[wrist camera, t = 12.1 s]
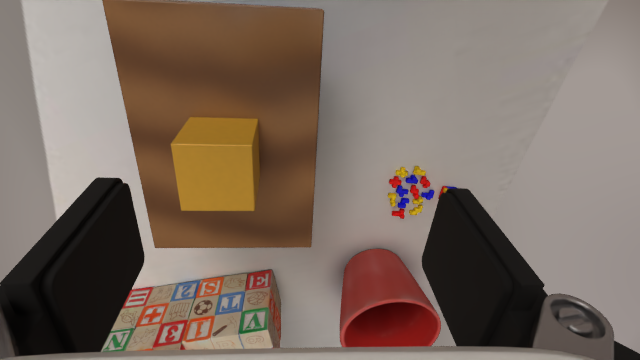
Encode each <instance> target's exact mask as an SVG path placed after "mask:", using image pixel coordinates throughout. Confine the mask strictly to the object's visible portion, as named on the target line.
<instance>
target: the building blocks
mask: <svg viewBox="0 0 640 360" xmlns="http://www.w3.org/2000/svg"><path fill="white" fill-rule="evenodd" d="M413 173H414V174H415V175H425V173H426V172H425V170H421V169H420V168H419V166H415V168H414V171H413ZM396 175H400V176H401V177H404V178H405V176H407V175H408V172H407V171H405V168H404V167H401V168H400V170H396ZM415 175H411V176H410V178H406V183H414V184H417V183H418V180H417V179H416V177H415ZM426 179H427V178H426V176H422V178H421V181H420V183H421V184H423V188H427V187H429V186H430V182H429V181H428V180H426ZM389 183H390V184H392V187H393V188H396V187H397V185H398V187H397V190H396V192H397V193H399V196H400V197H403V196H404V194H408V189H402V186H400V185H401V180H399V178H398V177H397V176H394V179H390V181H389ZM449 188H456V187H448V186H443V187H442V189H441V192H440V195H441V194H442V193H445V192H446V191H447V189H449ZM410 192H411V193H413V196H414V198H415V199H413V201H412V202H413V204H420V203H423V199H422V197H425V198H426V199H427V200H430V199H431V198H433V195H434V191H433V190H430V191H429V193H423V192H422V194H421V196H422V197H421V196H419V195H418V192H419V190H418V189H416V186H415V185H412V186H411V190H410ZM440 195H439V198H440ZM396 196H397V195H396V194H395V193H389V194H388V197H389V198H391V199H390V204H391V206H394V207H395V204H396V203H395V199H396ZM439 198H438V199H439ZM405 203H409V199H408V198H401V202H400V203H398V205H397V206H398V208H405V207H406V204H405ZM422 208H423V206H422V205H418V208H417V207H414V210H410V211H409V214H410V215H417V213H418V212H420V213H421V211H422ZM392 216H400V218H402V219H404V209H400V211H392Z"/></svg>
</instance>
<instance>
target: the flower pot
mask: <svg viewBox="0 0 640 360" xmlns="http://www.w3.org/2000/svg"><path fill="white" fill-rule="evenodd" d="M440 329H441V321H440V318H439V316H438V314H437V312H436V310H435V309H434V307H433V306H432V304H431V303H430V301H429V300H428V298H427V297H426V295H425V294H424V292H423V291H422V289H421V288H420V286H419V285H418V283H417V282H416V280H415V279H414V277H413V276H412V274H411V273H410V271H409V270H408V268H407V267H406V266H405V264H404V263H403V262H402V260H401V259H400V258H399V257H398V256H397V255H396V254H394V253H393V252H391V251H389V250H385V249H370V250H366V251H363V252H361V253H359V254H357V255H355V256H354V257H353V258H352V259H351V260H350V261H349V262H348V263H347V265H346V267H345V270H344V278H343V287H342V299H341V315H340V342H341V345H342V347H422V346H431V345H432V344H433V343H434V342H435V341H436V339H437V338H438V335H439V333H440Z"/></svg>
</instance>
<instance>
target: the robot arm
mask: <svg viewBox="0 0 640 360" xmlns="http://www.w3.org/2000/svg"><path fill="white" fill-rule="evenodd" d="M143 264H144V251H143V246H142V242H141V237H140V233H139V228H138V224H137V219H136V215H135V210H134V206H133V201H132V197H131V192H130V188H129V185H128V184H127V183H123V182H122V180H121V179H120V178H96V179H95V180H94V181H93V182H92V183H91V184H90V185H89V186H88V187H87V188H86V190H85V191H84V192H83V193H82V194H81V195H80V196H79V197H78V198H77V199H76V200H75V202H74V203H73V204H72V205H71V206H70V207H69V208H68V209H67V210H66V211H65V213H64V214H63V215H62V216H61V217H60V218H59V219H58V220H57V221H56V222H55V223H54V225H53V226H52V227H51V228H50V229H49V230H48V231H47V232H46V233H45V234H44V235H43V237H42V238H41V239H40V240H39V241H38V242H37V243H36V244H35V245H34V246H33V247H32V249H31V250H30V251H29V252H28V253H27V254H26V255H25V256H24V257H23V258H22V260H21V261H20V262H19V263H18V264H17V265H16V266H15V267H14V268H13V270H11V272H10V273H9V274H8V275H7V276H6V277H5V278H4V279H3V280H2V281H1V283H0V285H1V286H0V360H640V354H639V353H637V352H635V351H633V350H631V349H629V348H627V347H626V346H623V345H622V344H620V343H618V342H616V341H614V332H613V328H612V326H611V325H610V323H609V321H608V320H607V319H606V318H605V317H604V316H603V315H602V314H601V313H600V312H599V311H598V310H597V309H595V308H594V307H593V306H591V305H590V304H588V303H586V302H584V301H582V300H581V299H578V298H576V297H573V296H570V295H565V294H551V295H549V296H548V295H547V294H546V292H545V291H544V290H543V287H544V284H543V282H542V281H541V280H540V279H539V277H538V276H537V275H536V274H535V272H534V271H533V270H532V269H531V267H530V266H529V265H528V263H527V262H526V261H525V260H524V258H523V257H522V256H521V255H520V253H519V252H518V251H517V250H516V248H515V247H514V246H513V245H512V243H511V242H510V241H509V239H508V238H507V237H506V236H505V234H504V233H503V232H502V231H501V229H500V228H499V227H498V226H497V224H496V223H495V222H494V221H493V219H492V218H491V217H490V216H489V214H488V213H487V212H486V211H485V209H484V208H483V207H482V205H481V204H480V203H479V202H478V200H477V199H476V198H475V197H474V195H473V194H472V193H471V192H470V190H468V189H459V188H449V189H447V191H446V192H445V193H442V194H441V195H440V198H439V201H438V204H437V208H436V211H435V215H434V218H433V222H432V225H431V228H430V232H429V235H428V239H427V242H426V246H425V249H424V252H423V256H422V267H423V270H424V272H425V274H426V277H427V279H428V281H429V284H430V286H431V288H432V290H433V293H434V295H435V297H436V300H437V302H438V304H439V307H440V309H441V311H442V313H443V316H444V318H445V320H446V322H447V325H448V327H449V330H450V332H451V334H452V336H453V339H454V341H455V343H456V346H434V347H433V346H422V347H325V348H257V349H202V350H153V351H115V352H101V350H102V348H103V346H104V344H105V342H106V340H107V338H108V336H109V334H110V332H111V330H112V328H113V326H114V324H115V322H116V320H117V318H118V316H119V314H120V311H121V309H122V307H123V305H124V303H125V301H126V299H127V297H128V295H129V293H130V291H131V289H132V287H133V285H134V283H135V281H136V279H137V277H138V275H139V273H140V271H141V269H142V267H143Z"/></svg>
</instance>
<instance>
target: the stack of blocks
mask: <svg viewBox="0 0 640 360" xmlns="http://www.w3.org/2000/svg"><path fill="white" fill-rule="evenodd" d="M280 338H281V301H280V297H279V293H278V290H277V286H276V282H275V278H274V275H273V272H272V270H267V271H261V272H255V273H249V274H247V273H244V274H237V275H230V276H226V277H217V278H210V279H203V280H201V281H200V280H199V281H192V282H186V283H179V284H173V285H166V286H159V287H149V288H142V289H135V290H131V291H130V293H129V295H128V297H127V299H126V301H125V303H124V305H123V307H122V309H121V311H120V314H119V316H118V318H117V320H116V322H115V324H114V326H113V328H112V330H111V332H110V334H109V336H108V338H107V340H106V342H105V344H104V346H103V348H102V350H101V352H115V351H153V350H202V349H257V348H280Z"/></svg>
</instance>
